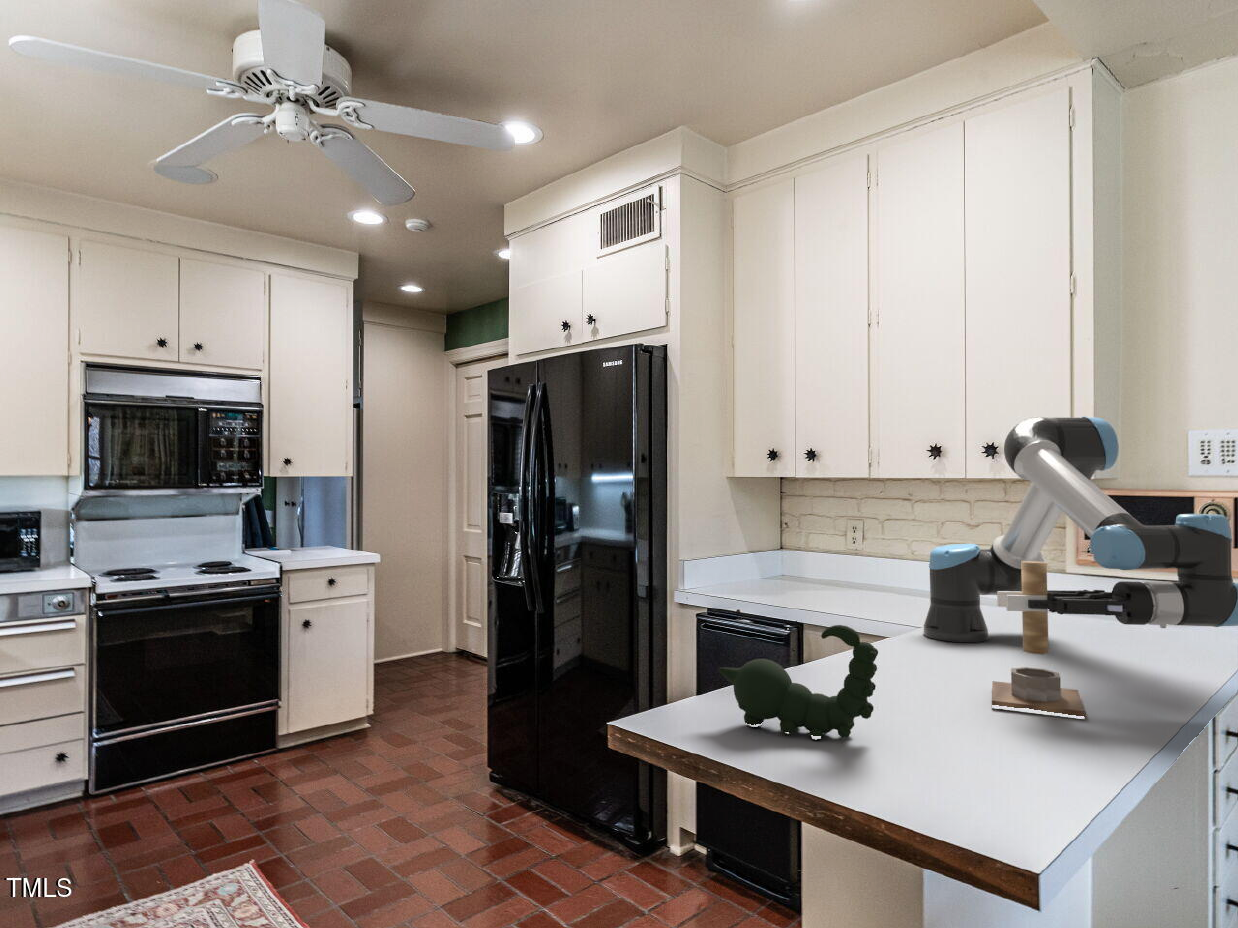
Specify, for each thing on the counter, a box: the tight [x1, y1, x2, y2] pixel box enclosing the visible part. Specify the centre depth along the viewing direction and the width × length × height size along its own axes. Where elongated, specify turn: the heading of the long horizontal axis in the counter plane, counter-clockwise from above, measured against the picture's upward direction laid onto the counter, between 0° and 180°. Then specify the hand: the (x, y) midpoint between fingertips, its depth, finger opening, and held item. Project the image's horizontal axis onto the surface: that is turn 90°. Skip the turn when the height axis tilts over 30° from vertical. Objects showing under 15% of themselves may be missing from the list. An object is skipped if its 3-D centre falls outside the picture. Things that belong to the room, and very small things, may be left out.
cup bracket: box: [991, 666, 1086, 718], centre depth 134 cm, size 14×14×6 cm
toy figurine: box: [717, 624, 879, 738], centre depth 120 cm, size 9×19×25 cm
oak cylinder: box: [1021, 561, 1050, 655], centre depth 134 cm, size 4×4×16 cm
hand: (1002, 600), depth 135 cm, fingers closed on oak cylinder, 4 cm apart
